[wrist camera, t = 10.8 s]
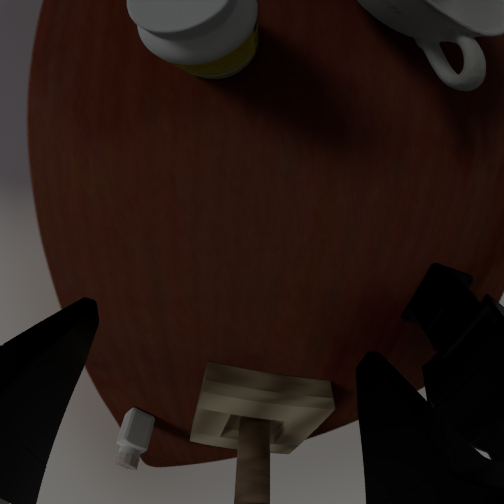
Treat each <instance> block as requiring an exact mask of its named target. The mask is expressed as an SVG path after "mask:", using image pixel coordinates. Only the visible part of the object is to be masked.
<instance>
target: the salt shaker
mask: <svg viewBox="0 0 504 504" xmlns="http://www.w3.org/2000/svg"><path fill="white" fill-rule="evenodd" d="M154 421H155V418H154V417H153V416H151V415H149V414H147V413H145V412H143V411H141V410H139V409H137V408H132V409H131V410H129V411H128V412H127V413H126V414H125V417H124V420H123V423H122V426H121V429H120V432H119V435H118V438H117V443H118V444H119V445H120V449H119V451H118V454H117V458H116V461H115V462H116V463H117V464H118V465H120V466H122V467H124V468H127V469H131V470H137V466H138V462H139V457H140V453H144V452H145V451H147V449H148V445H149V441H150V437H151V433H152V429H153V425H154Z"/></svg>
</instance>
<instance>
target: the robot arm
mask: <svg viewBox="0 0 504 504" xmlns="http://www.w3.org/2000/svg"><path fill="white" fill-rule="evenodd" d="M435 268H436V269H435ZM434 269H435V270H434ZM472 282H473V277H472V276H471V275H469V274H466V273H463V272H460V271H458V270H455V269H452V268H449V267H446V266H443V265H441V264H438V263H433V264H432V265H431V266H430V268H429V270H428V272H427V273H426V275H425V277H424V279H423V281H422V282H421V284H420V286H419V287H418V289H417V291H416V292H415V294H414V296H413V297H412V299H411V301H410V302H409V304H408V305H407V307H406V309H405V310H404V312H403V313H402V315H401V317H402V319H403V320H404V321H408V322H414V323H419V324H420V326H421V327H422V329H423V331H424V333H425V334H426V335H427V336H428V338H429V340H430V342H431V344H432V346H433V347H434V349H435V350H436V351H438V353H437V354H436V355H435V356H434V357H433V358H432V359H431V360H430V361H429V362H428V363H425V364H424V365H423V366H422V371H423V377H424V383H425V390H426V396H427V401H426V400H425V399H424V398H423V397H422V396H421V395H420V394H419V392H418V391H417V390H416V389H415V388H414V387H413V386H412V385H411V384H410V383H409V382H408V381H407V380H406V379H405V378H404V377H403V376H402V375H401V374H400V373H399V372H398V371H397V370H396V369H395V368H394V367H393V366H392V365H391V364H390V363H389V362H388V361H387V360H386V359H385V358H384V357H383V355H382V354H380V353H379V352H372V351H370V352H368V353H366V355H365V356H364V357H363V359H362V360H361V362H360V363H359V364H358V366H357V369H356V386H357V410H358V418H359V426H360V434H361V443H362V453H363V463H364V476H365V490H366V504H504V307H503V306H502V305H501V304H500V303H498V302H497V301H496V300H495V299H493V298H492V297H491V296H490V295H488V294H486V295H485V297H484V298H483V299H484V300H483V301H482V302H481V303H480V302H479V301H478V300H477V299H476V297H475V296H474V295H473V294H472V293H471V291H470V290H469V287H470V285H471V284H472ZM98 324H99V316H98V309H97V303H96V301H95V300H93V299H89V298H86V297H84V298H82V299H80V300H78V301H76V302H75V303H73V304H71V305H69V306H67V307H66V308H64V309H62V310H60V311H59V312H57V313H55V314H54V315H52V316H50V317H48V318H46V319H45V320H43V321H41V322H39V323H38V324H36V325H34V326H33V327H31V328H29V329H28V330H26V331H25V332H22V333H21V334H19V335H17V336H16V337H14V338H13V339H11V340H10V341H8V342H6V343H4V344H3V346H2V345H1V346H0V504H9V503H11V504H36V502H37V498H38V494H39V490H40V486H41V483H42V479H43V476H44V472H45V468H46V464H47V461H48V458H49V455H50V452H51V449H52V446H53V443H54V440H55V437H56V435H57V432H58V429H59V426H60V424H61V421H62V418H63V416H64V413H65V411H66V408H67V405H68V403H69V400H70V398H71V395H72V393H73V391H74V388H75V386H76V384H77V381H78V379H79V377H80V375H81V372H82V370H83V368H84V365H85V363H86V360H87V357H88V354H89V351H90V348H91V345H92V342H93V339H94V336H95V333H96V330H97V328H98ZM475 448H476V449H478V450H481V451H484V452H486V453H488V455H489V457H490V458H491V460H490V459H488V458H486V457H484V456H482V455H481V454H480V453H479V452H478V451H477V450H476V449H475Z"/></svg>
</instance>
